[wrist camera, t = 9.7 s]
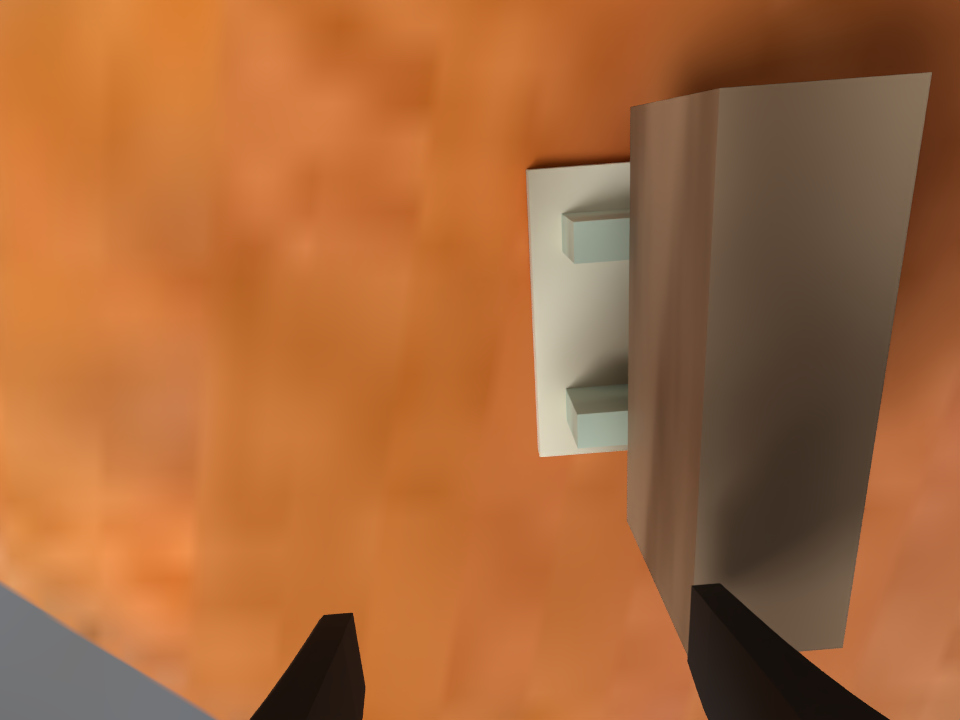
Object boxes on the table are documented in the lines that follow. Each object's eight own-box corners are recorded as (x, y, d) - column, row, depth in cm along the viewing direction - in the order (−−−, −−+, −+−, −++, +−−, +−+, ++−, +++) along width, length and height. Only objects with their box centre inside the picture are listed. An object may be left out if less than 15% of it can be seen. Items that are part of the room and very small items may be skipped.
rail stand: (805, 148, 20) (858, 149, 17) (777, 430, 23) (818, 467, 21) (526, 169, 20) (536, 173, 17) (537, 449, 23) (548, 488, 20)
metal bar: (770, 96, 17) (931, 72, 11) (738, 511, 21) (842, 647, 15) (630, 107, 17) (719, 88, 11) (626, 520, 21) (689, 660, 15)
